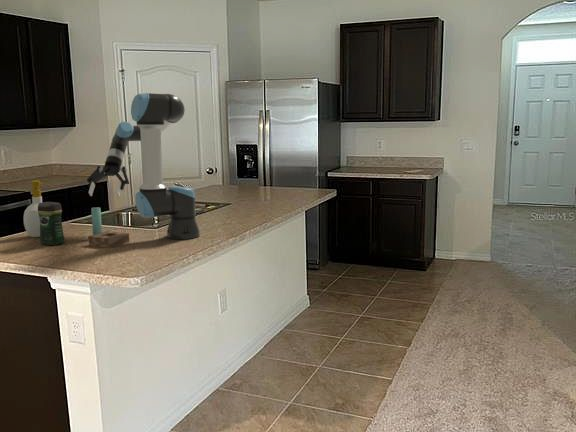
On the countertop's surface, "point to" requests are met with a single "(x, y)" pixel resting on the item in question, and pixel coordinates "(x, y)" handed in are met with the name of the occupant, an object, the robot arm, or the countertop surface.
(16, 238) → the countertop surface
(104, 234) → the bore block
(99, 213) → the dowel
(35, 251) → the countertop surface
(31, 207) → the soap bottle
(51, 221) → the coffee jar
